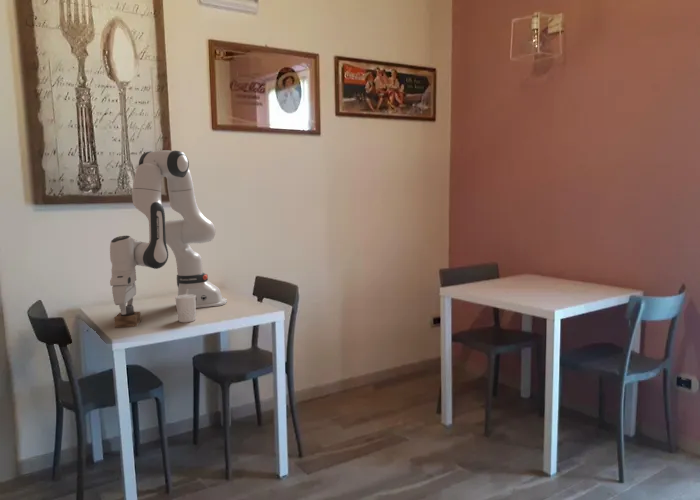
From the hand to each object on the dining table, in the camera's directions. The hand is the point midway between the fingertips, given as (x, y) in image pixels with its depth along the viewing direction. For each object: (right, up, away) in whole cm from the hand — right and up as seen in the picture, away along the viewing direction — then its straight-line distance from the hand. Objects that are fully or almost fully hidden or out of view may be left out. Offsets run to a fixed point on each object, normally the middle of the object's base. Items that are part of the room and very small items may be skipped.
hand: (127, 311), depth 226 cm
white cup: (+23, -4, +4) cm, 24 cm away
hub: (0, -5, +1) cm, 5 cm away
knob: (0, -4, +1) cm, 4 cm away
